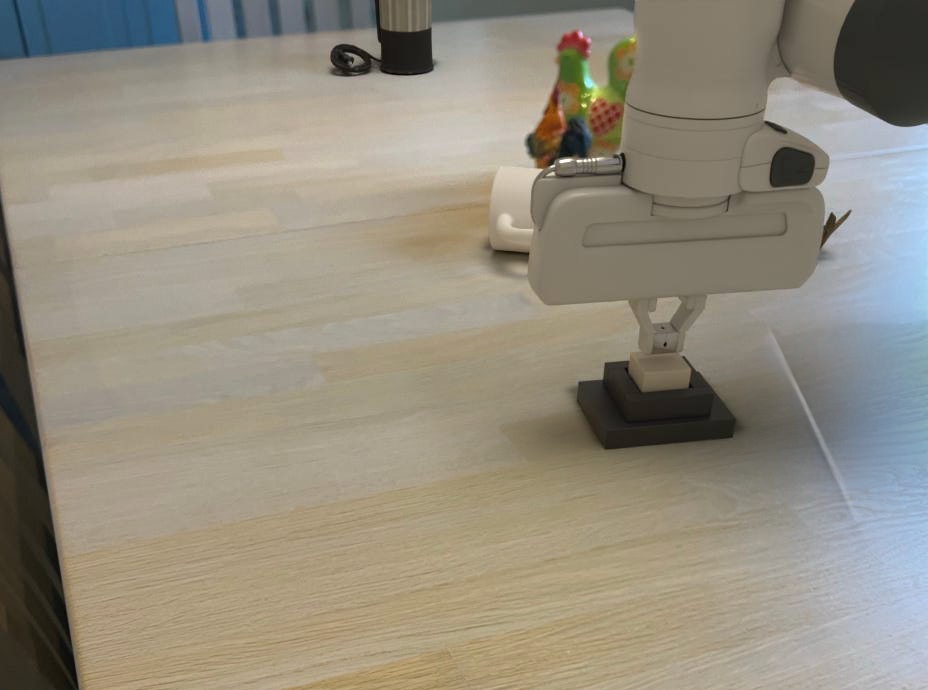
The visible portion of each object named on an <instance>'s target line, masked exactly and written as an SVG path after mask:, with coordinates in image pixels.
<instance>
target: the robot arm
mask: <svg viewBox="0 0 928 690" xmlns="http://www.w3.org/2000/svg"><path fill="white" fill-rule="evenodd" d="M633 7H634V8H633V18H632V21H633V22H632V23H633V31H634V32H633V33H634V37H635V59H634V66H633V70H632V74H631V76H630V79H629V81H628V84H627V86H626V92H625V98H624V100H625V101H624V107H623V117H622V124H621V125H622V127H621V135H620V136H621V137H620V146H619V154H617V153H616V154H615V153H614V154H613V153H612V154H603V155H602V154H601V155H600V154H599V155H594V156H593V155H592V156H589V157H588V156H587V157H577V158H576V156H575V157H574V156H564V157H560V158H557V159H555V160H554V161H553V164H551V165H548V166H547V167H545V168H542V169H543V170H542V171H541V172H540V173H539V174H538V175H537V177H536V178H535V180H534V182H533V185H532V189H531V204H530V214H531V218H532V221H533V223H534V224H535V225H534V230H533V235H532V240H531V247H530V253H529V254H528V263H527V280H528V284H529V286H530V288H531V291H533V293H534V295H536V297H537V298H538V299H539V300H540V301H541V302H542V303H543V304H544V305H545V306H547V307H548V306H550V307H552V306H567V305H581V304H582V305H583V304H595V303H609V302H610V303H611V302H624V301H625V302H626V301H627V303H628V305H629V307H630V309H631V311H632V313H633V315H634V317H635V319H636V321H637V324H638V325H639V332H638V340H637V346H638V350H639V352H641V353H642V354H643V355H653V354H665V353H683V351H684V345H685V340H686V335H687V334H686V333H687V332H689V330H690V329H691V328H692V326H693V325H694V324H695V322H696V321H697V320H698V318H699V317H700V316H701V314H702V313H704V310H705V308H706V304H707V298H708V296H709V295H710V296H711V295H722V294H737V293H751V292H765V291H779V290H780V291H781V290H794V289H800V288H801V287H802V286H803V285H805V284H806V283H807V281H808V280H809V279H810V278H811V277H812V276H813V275H814V273H815V270H816V268H817V265H818V260H819V256H820V252H821V250H820V246H821V241H822V234H823V227H824V225H825V217H826V204H825V203H826V202H825V198H824V196H823V194H822V191H820V190H819V189H818V188H817V187H818V186H821V184H823V183H824V181H825V179H826V177H827V175H828V172H829V167H830V162H831V161H830V156H829V154H828V153H827V152H826V151H825V150H824V149H823V148H821V147H820V146H819V145H817V144H816V143H815V142H813V140H811V139H809V138H808V137H805V135H802V134H800V133H799V132H797V131H794V130H793V129H790V128H788V127H786V126H784V125H780V124H777V123H775V122H772V121H769V120H765V115H766V109H767V104H768V97H769V96H768V91H769V87H770V86H771V84H772V82H773V81H775V80H777V79H781V78H786V79H789V80H792V81H794V82H797V83H799V84H800V85H802V86H805V87H806V88H809V89H812V90H815V91H819V92H821V93H824V94H827V95H829V96H833V97H836V98H839V99H842V100H845V101H847V103H849V104H850V105H853V106H855V107H856V108H858V109H860V110H862V111H863V112H866V113H868V114H870V115H871V116H873V117H875V118H877V119H879V120H881V121H883V122H885V123H887V124H889V125H891V126H894V127H899V128H912V127H918V126H922V125H925V124H928V0H634V6H633ZM551 172H554V173H555V175H551V176H546V175H548V174H549V173H551ZM819 251H820V252H819ZM665 298H666V299H667V298H668V299H669V298H678V300H679V301H680V302H681V303H680V304H679V306H678V308H677V309H676V311H675V312H674V314H673V315H672V317H671V318H670V320H669V321H666V322H665V321H664V322H655V323H653V322H652V320H651V318H650V316H649V313H654V312H655V311H657V303H658V299H665Z"/></svg>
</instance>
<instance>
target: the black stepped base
mask: <svg viewBox="0 0 928 690" xmlns="http://www.w3.org/2000/svg"><path fill="white" fill-rule="evenodd" d="M681 357H682V358H683V359H684V361H685V362H686V363H687V364H688V366H689V367H690V368H691V375H690V381H689V387H688V388H687V389H676V390H664V391H653V392H640V390H639V389H638V388H637V386H636V385H635V383H634V382H633V380H632V379H631V377H630V376H629V374H628V368H629V360H617V361H605V362H604V364H603V365H604V366H603V376H602V379H593V380H592V379H591V380H580V381H578V382H577V383H578V384H577V395H576V401H577V403H578V405H579V406H580V408H581V410H582V412H583V414H584V415H585V417H586V419H587V421H588V423H589V424H590V426H591V428H592V430H593V432H594V433H595V435H596V436H597V439H598V440H599V442H600V444H601V446H602V448H603V449H604V450H605V451H607V450H609V451H610V450H618V449H619V450H620V449H627V448H639V447H651V446H652V447H653V446H660V445H662V446H663V445H672V444H681V443H693V442H702V441H703V442H704V441H714V440H725V439H733V437H734V432H735V427H736V423H737V417H736V416H735V415H734V414H733V412H732V411H731V410H730V409H729V407H728V406H727V405H726V404H725V402H724V401H723V400H722V398H721V397H720V396H719V395H718V394H717V392H716V391H715V390H714V388H713V387H712V386H711V385H710V384H709V382H708V381H707V380H706V378H705V377H704V375H702V374H701V372H700V371H699V370H697V369H696V368H695V367H694V366H693V364H692V363H691V362H690V361H689V359H688V358H687V357H686V356H685V355H681Z"/></svg>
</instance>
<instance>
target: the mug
mask: <svg viewBox="0 0 928 690" xmlns="http://www.w3.org/2000/svg"><path fill="white" fill-rule="evenodd" d="M543 169H544V168H535V167H522V166H507V165H500V167H498V169H497V170H496V172H495V174H494V178H493V181H492V185H491V190H490V197H489V205H488V219H487V220H488V222H487V223H488V225H487V226H488V238H489V239H488V240H489V243H490V246H491V248H492V249H493V250H495V251H503V252H505V251H506V252H514V253H515V252H516V253H525V254H526V253H527V254H528V253H530V247H531V240H532V235H533V230H534V225H535V224H534V223H533V221H532V218H531V214H530V204H531V189H532V185H533V182H534V180H535V178H536V177H537V175H538V174H539V173H540V172H541V171H542V170H543ZM551 175H555V173H554V172H551V173H549V174H548V175H546V176H551Z"/></svg>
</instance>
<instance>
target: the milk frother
mask: <svg viewBox="0 0 928 690" xmlns="http://www.w3.org/2000/svg"><path fill="white" fill-rule="evenodd" d="M374 9H375V11H374V12H375V24H376V35H377V37H376V38H377V41H378V43H379V44H380V59H379V58H377V57H375V56H373V55H372V54H371V53H369V52H368V51H367V50H365V49H363V48H360V47H359V46H357V45H354V44H350V43H349V44H348V43H341V44H336V45H335V46H333V48H332V49H331V50H330V55H329V59H330V62H331V64H332V65H333V66H334V67H335V68H337V69H338V70H340V71H341V72H342V73H343V74H349V73H352V74H362V73H366V72H368V71H369V70H371V67H372V63H373V62H372V61H375V62H378V63H380V65H379V69H380V70H381V71H383V72H385V73H391V74H398V75H399V74H400V75H413V74H423V73H427V72H429V71H432V70H433V69H434V68H435V65H434V63H433V61H434V60H433V38H432V37H433V36H432V35H433V32H432V29H433V28H432V27H433V25H432V24H433V22H432V21H433V0H374ZM349 54H352V55H355V56H356V57H359V58H360V59H362V61H363V63H362V64H359V65H354V62H355V57H354V56H350V55H349Z"/></svg>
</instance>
